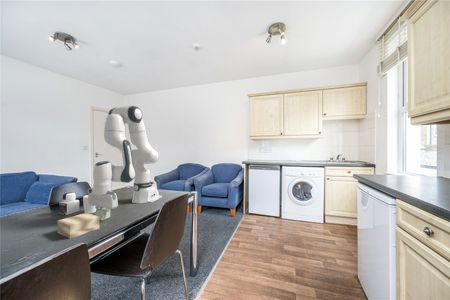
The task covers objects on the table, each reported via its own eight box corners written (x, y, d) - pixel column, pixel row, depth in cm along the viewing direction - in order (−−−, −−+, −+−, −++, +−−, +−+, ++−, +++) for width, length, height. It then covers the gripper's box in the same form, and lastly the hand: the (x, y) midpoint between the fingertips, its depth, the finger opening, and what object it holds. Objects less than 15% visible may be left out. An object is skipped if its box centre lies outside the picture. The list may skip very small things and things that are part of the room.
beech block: (86, 223, 96) (86, 212, 96) (99, 228, 91) (99, 216, 91) (57, 233, 86) (57, 220, 86) (70, 239, 80) (70, 225, 80)
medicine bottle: (58, 213, 111) (58, 194, 110) (71, 210, 117) (71, 191, 117) (66, 215, 108) (66, 195, 108) (79, 211, 115) (79, 192, 115)
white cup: (90, 214, 110) (90, 197, 109) (79, 213, 111) (79, 197, 111) (101, 210, 117) (101, 194, 117) (91, 209, 119) (91, 193, 119)
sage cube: (104, 215, 107) (104, 207, 107) (110, 217, 105) (110, 208, 105) (95, 218, 103) (95, 210, 103) (101, 220, 101) (101, 211, 101)
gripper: (120, 190, 103) (121, 214, 103) (96, 187, 111) (97, 210, 111) (110, 193, 97) (110, 218, 97) (85, 189, 105) (85, 213, 105)
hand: (103, 214), depth 104 cm, fingers closed on sage cube, 5 cm apart
